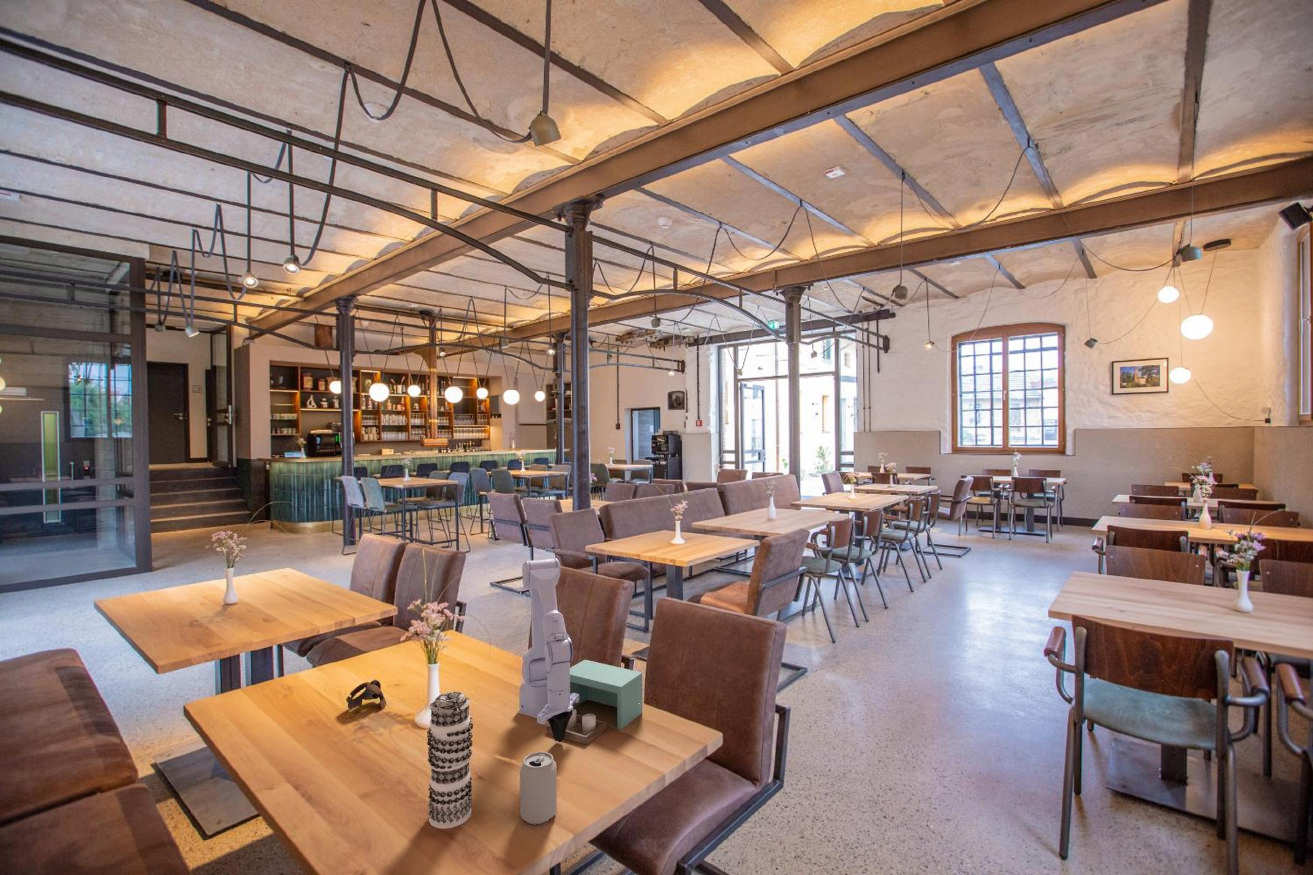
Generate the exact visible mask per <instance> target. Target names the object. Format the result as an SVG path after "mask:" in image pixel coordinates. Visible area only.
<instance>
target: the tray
mask: <svg viewBox="0 0 1313 875" xmlns="http://www.w3.org/2000/svg"><path fill="white" fill-rule="evenodd" d="M582 716H583V715H582V714H577V713H576V727H575V728H573V729H566V732H565V736H564V740H565V739H566V740H569V741H572V742H575V743H578V744H582V745H585V746H587V745H588V744H590V743H591V742H592V741H594V740H595V739H597V737H599V736H600V735H601V734H602V733H604V732H606V730H607V722H606V721H602V720H599V719H596V728H595V729H594V730H593V731H591V732H590V733H589V734H587V735H584V734H583V733H582ZM545 726H546V727H545V730H546V734H550V735H552V736H553V733H552V730H551V727H550V725H549V723H547V724H546V725H545Z"/></svg>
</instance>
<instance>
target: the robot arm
mask: <svg viewBox="0 0 1313 875" xmlns="http://www.w3.org/2000/svg"><path fill="white" fill-rule="evenodd" d="M521 568H522V569H521V570H522V572H521V574H522V575H521V576H522V586H523V588H524V589H527V590H528V591H529V595H530V618H531V647H530V648H529V649H528V650H527V651H526V652H524V654H523V655H522V664H521V674H522V680H523V681H522V682H521V683H520V686H519V691H518V694H519V695H518V696H519V697H518V698H519V699H518V702H519V703H518V704H519V706H518V707H519V710H517V713H518V714H522V715H526V716H529V717H532V718H535V719H536V723H537V724H540V725H545V724H546V722H548V723H547V724H549V725H550V727H551V730H552V733H553V735H552V736H553V740H554V741H555V742H558V743H561V742H563V741H564V740H565V738H564V736H565V732H566V728H567V725H568V722H569V720H570V718H571V716H572V710H573V709H574V708H573V706H572V705H573V703H578V702H579V694H575V693H572V694H570V668H571V662H572V661H573V659H574V647H573V642H572V639H571V638H570V635H569V634H568V633H567V629H566V623H565V619H564V615H563V613H561V612H560V611H559V609H558V600H557V590H556V586H557V585H558V583H559V581H560V577H561V564H560V561H559V559H558V558H556V557H554V558H546V559H545V558H544V559H533V560H532V559H531V560H528V559H527V560H525V561H523V563H522V567H521Z"/></svg>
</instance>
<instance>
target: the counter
mask: <svg viewBox="0 0 1313 875" xmlns="http://www.w3.org/2000/svg"><path fill="white" fill-rule="evenodd" d="M572 693H575V694H579V702H578V703H573V705H572V706H573V709H576V707H578V706H580V705H581V704H582V703H584V702H585V701H590V702H591V701H592V702H594V703H595V702H596V703H599V704H603V705H608V706H610V707H614V708H617V709H616V710H617V711H616V712H617V716H616V717H617V722H616V723H617V727H616V728H617V730H624V728H626V726H628V725H629V724H630V723H632V722H633V721H634V720H636V719H637V718H638V717H639V716H640V715H641V714H643V672H642V671H641V672H640V671H636V670H632V669H629V668H623V667H619V666H615V665H610V664H606V663H603V662H602V663H601V662H597V661H592V660H588V659H583V660H582V661H580V662H577V663H576V664H574V665H572V666H570V694H572ZM638 703H640V704H638Z"/></svg>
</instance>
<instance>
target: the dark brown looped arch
mask: <svg viewBox="0 0 1313 875" xmlns="http://www.w3.org/2000/svg"><path fill="white" fill-rule="evenodd" d="M381 688H382V686H381V681H379V680H377V679H373V680H371V681H370V682H369V681H366V682H362V683H360V684H359V685H358V686H356V687H355V688H354V689H353V690H352V691H350V693H349V695H348V696H347V697H346V699H345V700H346V703H347V708H348V709H350V710H353V709H356V708H359V707H360V708H363V700H364V701H371V700H377V699H379V704H378V705H379V706H380V709H381V710H384V709H385V708H386V706H387V701H386V698H385V696H384V693H383V691H382V689H381ZM362 691H363V692H362ZM360 692H362V693H360ZM358 693H360V694H359V695H357V694H358ZM356 695H357V696H356Z"/></svg>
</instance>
